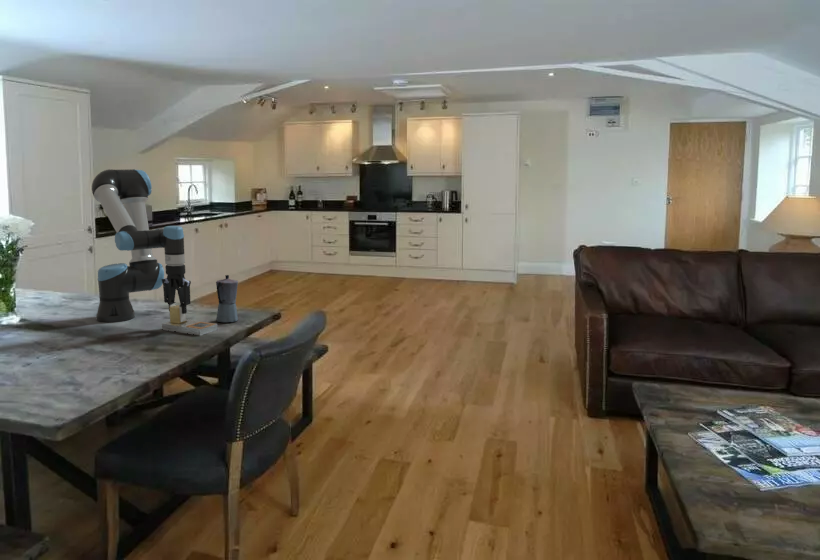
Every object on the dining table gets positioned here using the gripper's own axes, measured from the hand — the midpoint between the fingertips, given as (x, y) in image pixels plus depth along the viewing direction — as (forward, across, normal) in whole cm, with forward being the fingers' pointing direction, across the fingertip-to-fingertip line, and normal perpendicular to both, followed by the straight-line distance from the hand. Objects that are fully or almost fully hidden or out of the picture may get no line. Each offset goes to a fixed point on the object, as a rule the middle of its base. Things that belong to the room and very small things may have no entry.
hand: (178, 320), depth 256 cm
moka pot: (+3, +10, +18) cm, 21 cm away
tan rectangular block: (+3, 0, 0) cm, 3 cm away
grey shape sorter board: (+3, +6, 0) cm, 7 cm away
